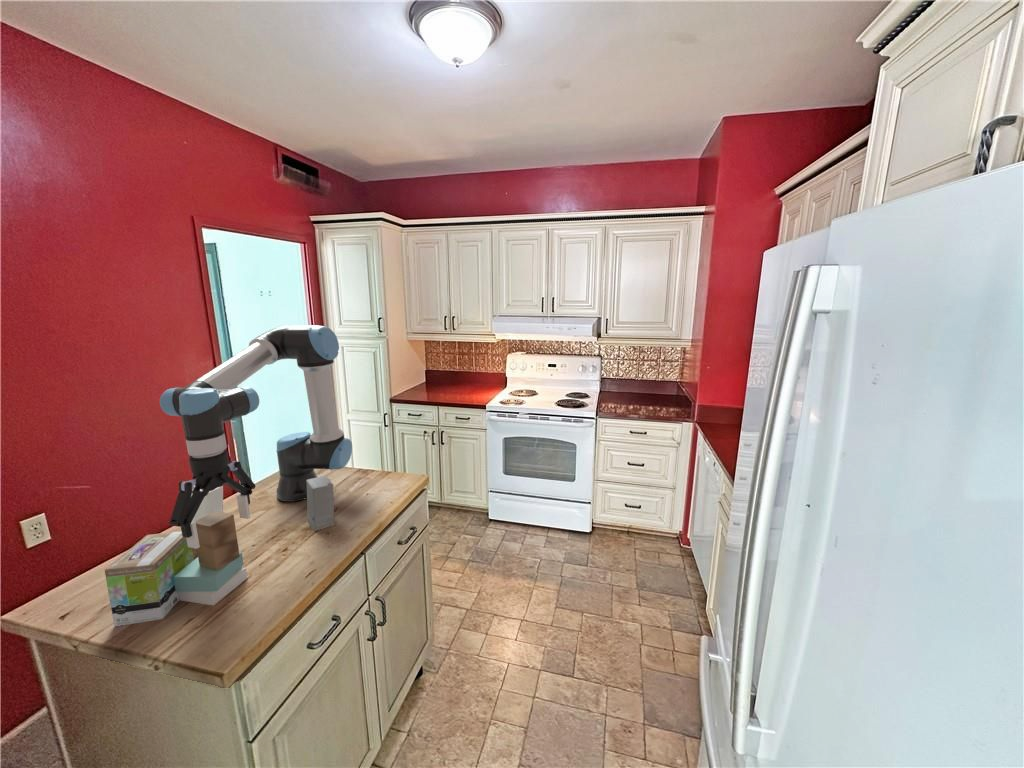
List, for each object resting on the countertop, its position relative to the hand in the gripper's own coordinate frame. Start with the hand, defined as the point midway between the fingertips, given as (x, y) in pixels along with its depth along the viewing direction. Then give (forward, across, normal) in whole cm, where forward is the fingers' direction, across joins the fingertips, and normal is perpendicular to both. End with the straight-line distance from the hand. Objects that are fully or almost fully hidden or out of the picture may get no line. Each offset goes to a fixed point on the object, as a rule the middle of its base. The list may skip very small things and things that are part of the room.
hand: (221, 531), depth 101 cm
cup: (+16, -15, -27) cm, 35 cm away
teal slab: (+12, +2, -3) cm, 13 cm away
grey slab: (+16, +2, -2) cm, 17 cm away
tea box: (+16, +9, -12) cm, 22 cm away
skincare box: (+17, -31, +2) cm, 36 cm away
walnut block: (+8, +1, -1) cm, 8 cm away
